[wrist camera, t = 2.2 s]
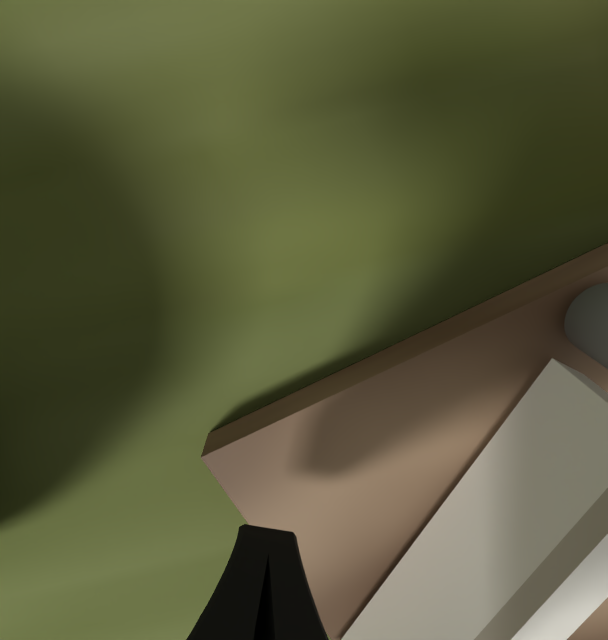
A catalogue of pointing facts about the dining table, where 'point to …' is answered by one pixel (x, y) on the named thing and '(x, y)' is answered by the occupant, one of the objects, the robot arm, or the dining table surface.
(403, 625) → the white bar
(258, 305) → the dining table surface
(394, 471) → the board
